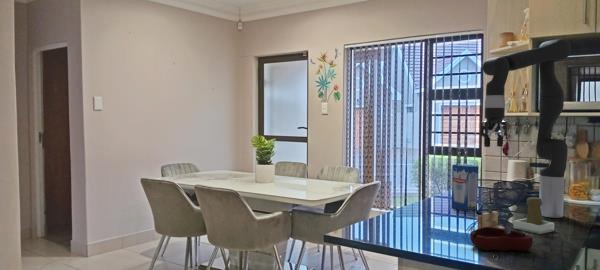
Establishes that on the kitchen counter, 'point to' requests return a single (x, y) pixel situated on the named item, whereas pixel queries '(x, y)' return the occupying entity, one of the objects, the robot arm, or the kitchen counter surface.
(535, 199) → the cork
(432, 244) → the kitchen counter surface
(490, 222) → the bracket
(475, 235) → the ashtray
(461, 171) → the milk carton
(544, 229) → the tray
